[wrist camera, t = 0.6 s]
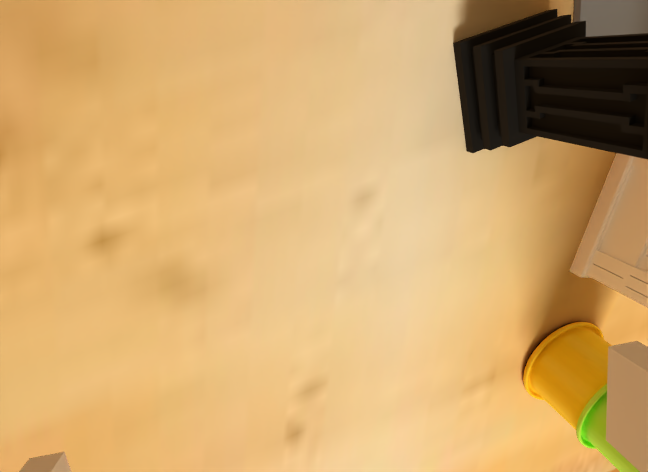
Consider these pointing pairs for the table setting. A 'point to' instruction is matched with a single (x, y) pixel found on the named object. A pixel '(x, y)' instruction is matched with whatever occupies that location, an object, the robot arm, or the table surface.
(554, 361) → the stacking cups
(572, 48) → the chess piece
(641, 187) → the castle model
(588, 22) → the felt mat
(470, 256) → the table surface
